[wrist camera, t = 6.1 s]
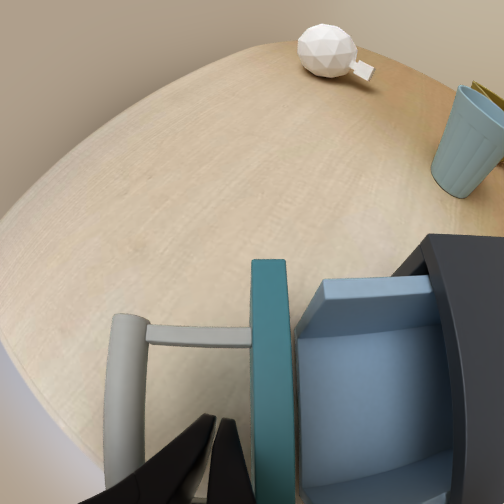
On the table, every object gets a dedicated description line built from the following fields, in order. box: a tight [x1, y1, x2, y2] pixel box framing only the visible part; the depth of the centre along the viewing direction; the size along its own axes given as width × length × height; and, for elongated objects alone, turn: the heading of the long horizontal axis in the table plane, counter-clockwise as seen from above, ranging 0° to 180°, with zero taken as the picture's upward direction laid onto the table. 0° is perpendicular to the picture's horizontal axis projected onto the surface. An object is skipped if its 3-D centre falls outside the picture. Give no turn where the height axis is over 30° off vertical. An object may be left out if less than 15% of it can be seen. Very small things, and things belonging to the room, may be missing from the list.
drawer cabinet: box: [391, 234, 504, 504], centre depth 10 cm, size 15×13×9 cm
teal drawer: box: [103, 259, 453, 504], centre depth 10 cm, size 18×11×7 cm, turn 91°
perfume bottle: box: [297, 24, 376, 81], centre depth 32 cm, size 9×9×12 cm
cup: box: [431, 85, 504, 198], centre depth 20 cm, size 8×8×10 cm
